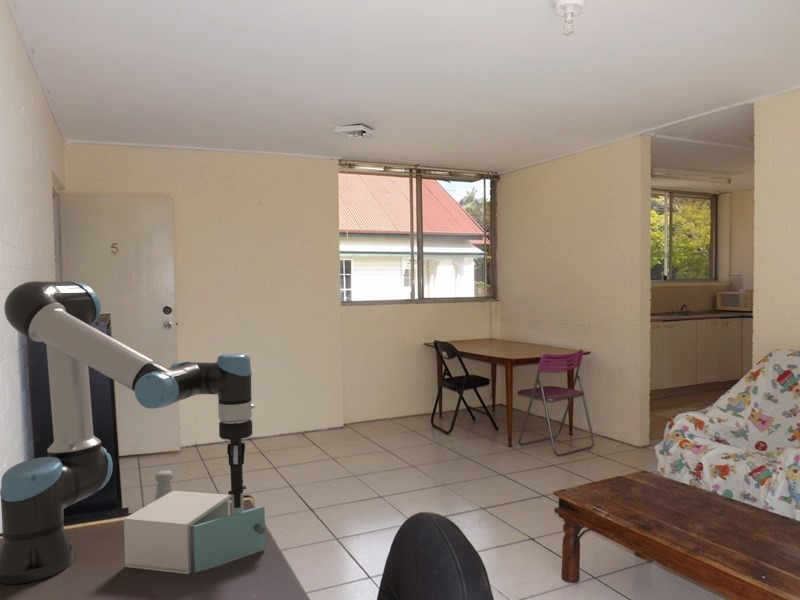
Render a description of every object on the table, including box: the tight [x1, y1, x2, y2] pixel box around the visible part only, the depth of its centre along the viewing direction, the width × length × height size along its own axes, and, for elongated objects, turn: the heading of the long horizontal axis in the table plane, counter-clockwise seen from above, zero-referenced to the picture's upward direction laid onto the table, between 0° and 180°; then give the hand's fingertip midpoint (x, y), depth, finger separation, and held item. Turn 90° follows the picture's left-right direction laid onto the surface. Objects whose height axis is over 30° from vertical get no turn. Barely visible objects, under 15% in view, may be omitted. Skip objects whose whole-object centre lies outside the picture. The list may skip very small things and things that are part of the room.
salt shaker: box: [154, 470, 173, 501], centre depth 156 cm, size 6×6×13 cm
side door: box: [190, 505, 266, 574], centre depth 131 cm, size 4×18×10 cm, turn 132°
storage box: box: [123, 490, 231, 575], centre depth 137 cm, size 16×18×11 cm
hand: (237, 519), depth 136 cm, fingers closed
